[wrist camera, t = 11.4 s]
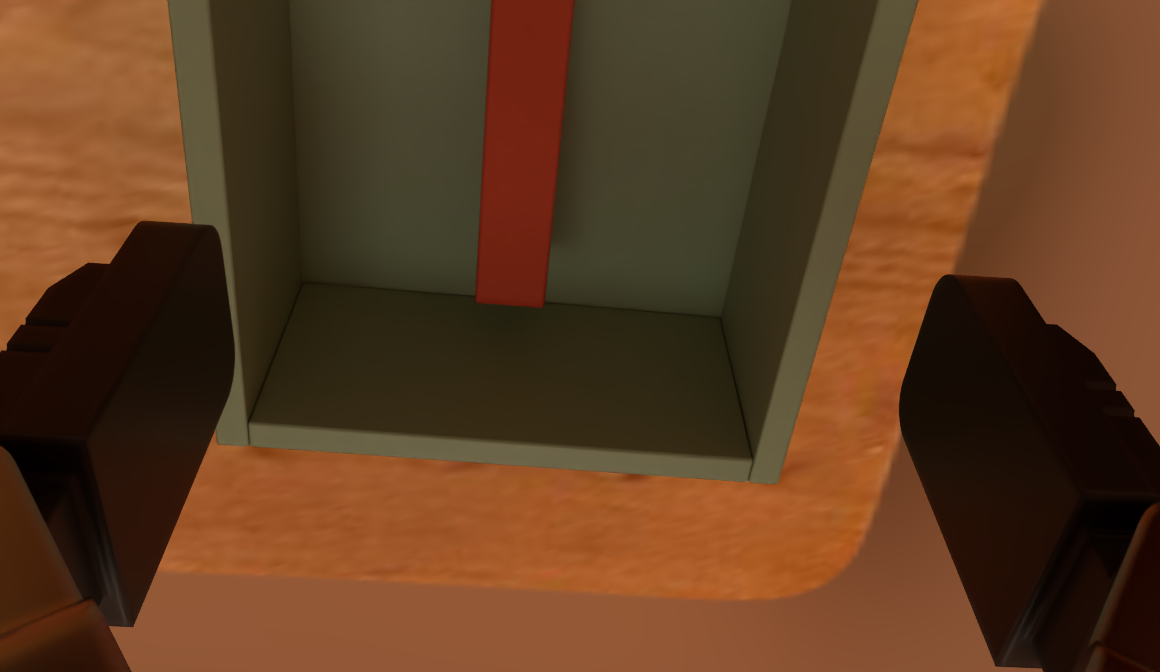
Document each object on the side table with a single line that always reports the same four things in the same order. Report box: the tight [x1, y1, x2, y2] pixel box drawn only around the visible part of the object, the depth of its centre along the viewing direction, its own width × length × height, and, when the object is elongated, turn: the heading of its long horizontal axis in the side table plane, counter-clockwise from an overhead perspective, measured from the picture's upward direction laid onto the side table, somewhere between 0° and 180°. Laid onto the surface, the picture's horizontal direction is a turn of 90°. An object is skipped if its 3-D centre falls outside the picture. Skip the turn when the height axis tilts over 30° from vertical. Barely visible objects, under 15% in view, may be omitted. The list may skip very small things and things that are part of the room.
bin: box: [168, 0, 918, 484], centre depth 18 cm, size 11×15×6 cm
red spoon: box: [475, 0, 575, 308], centre depth 19 cm, size 11×5×2 cm, turn 174°
